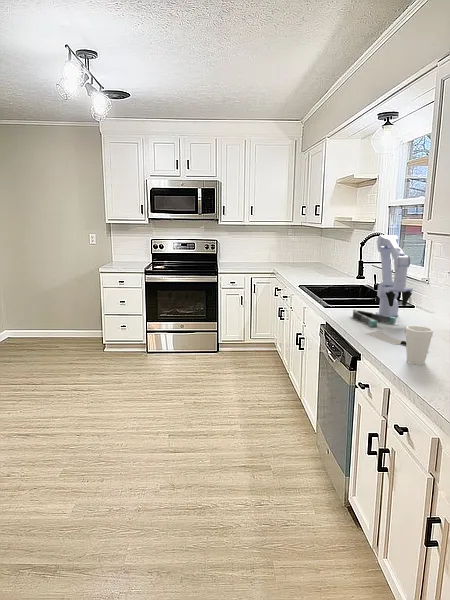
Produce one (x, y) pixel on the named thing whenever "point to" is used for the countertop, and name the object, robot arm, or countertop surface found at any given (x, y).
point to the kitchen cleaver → (386, 338)
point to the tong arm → (377, 317)
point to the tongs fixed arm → (365, 319)
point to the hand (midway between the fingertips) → (397, 305)
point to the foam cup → (417, 343)
